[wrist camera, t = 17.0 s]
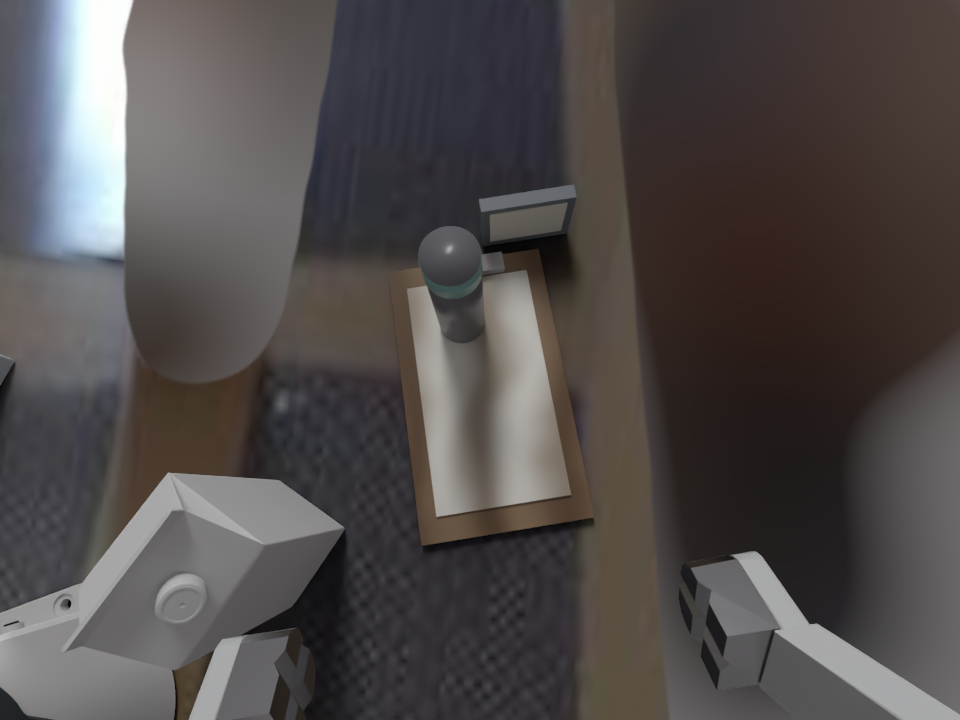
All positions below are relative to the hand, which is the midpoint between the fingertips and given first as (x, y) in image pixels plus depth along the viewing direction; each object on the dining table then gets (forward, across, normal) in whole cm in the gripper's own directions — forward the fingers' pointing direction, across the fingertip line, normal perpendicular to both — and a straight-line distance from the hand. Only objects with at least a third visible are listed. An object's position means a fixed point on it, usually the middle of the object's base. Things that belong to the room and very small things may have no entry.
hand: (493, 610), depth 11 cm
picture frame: (+40, -7, +4) cm, 41 cm away
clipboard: (+30, -1, +14) cm, 33 cm away
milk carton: (+23, +17, +21) cm, 36 cm away
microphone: (+34, 0, +9) cm, 35 cm away
